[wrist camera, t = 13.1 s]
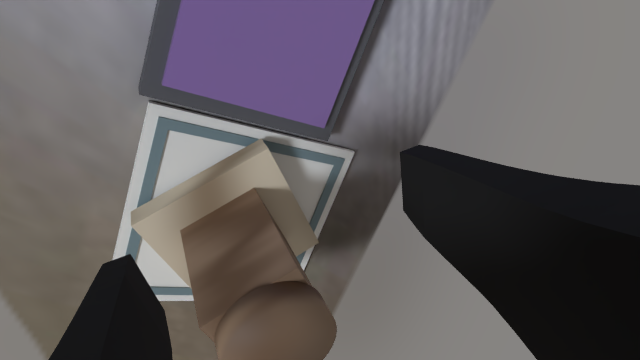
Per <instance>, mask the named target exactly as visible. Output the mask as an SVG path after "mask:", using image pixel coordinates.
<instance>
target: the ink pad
mask: <svg viewBox="0 0 640 360" xmlns="http://www.w3.org/2000/svg"><path fill="white" fill-rule="evenodd" d="M383 2H384V0H157V4H156V9H155V13H154V18H153V22H152V27H151V32H150V36H149V41H148V46H147V50H146V55H145V59H144V64H143V69H142V73H141V78H140V83H139V95H143V96H147V97H151V98H155V99H159V100H163V101H168V102H172V103H176V104H180V105H184V106H188V107H192V108H196V109H200V110H204V111H208V112H212V113H216V114H220V115H224V116H228V117H232V118H236V119H240V120H244V121H248V122H252V123H256V124H260V125H264V126H268V127H272V128H277V129H281V130H285V131H289V132H293V133H297V134H301V135H305V136H309V137H313V138H317V139H321V140H325V141H328V139H329V137H330V134H331V132H332V129H333V127H334V124H335V122H336V119H337V117H338V114H339V112H340V109H341V107H342V104H343V102H344V99H345V97H346V94H347V92H348V89H349V87H350V84H351V82H352V79H353V77H354V74H355V72H356V69H357V67H358V64H359V62H360V59H361V57H362V54H363V52H364V49H365V47H366V44H367V42H368V39H369V37H370V34H371V32H372V29H373V27H374V24H375V22H376V19H377V17H378V15H379V12H380V10H381V7H382V5H383Z"/></svg>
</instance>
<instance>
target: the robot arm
mask: <svg viewBox="0 0 640 360" xmlns="http://www.w3.org/2000/svg"><path fill="white" fill-rule="evenodd" d="M400 159H401V177H402V194H403V210H404V212H405V213H406V214H407V216H408V217H409V219H410V220H411V221H412V222H413V224H414V225H415V226H416V228H417V229H418V230H419V232H420V233H421V234H422V235H423V237H424V238H425V239H426V240H427V241H428V242H429V243H430V244H431V245H432V246H433V247H434V248H435V249H436V250H437V251H438V252H439V253H440V254H441V255H442V256H443V257H444V258H445V259H446V260H447V261H448V262H450V263H451V264H452V265H453V266H454V267H455V268H456V269H457V270H458V271H459V272H460V273H461V274H462V275H463V276H464V277H465V278H466V279H467V280H468V281H469V282H470V283H471V284H472V285H473V286H474V287H475V288H476V289H477V290H478V291H479V292H481V294H482V295H483V296H484V297H485V298H486V299H487V300H488V301H489V302H490V303H491V304H492V305H493V306H494V308H495V309H496V310H497V311H498V312H499V314H500V315H501V316H502V317H503V318H504V320H505V321H506V322H507V323H508V324H509V325H510V327H511V328H512V329H513V330H514V331H515V333H516V334H517V335H518V336H519V337H520V339H521V340H522V341H523V343H524V344H525V345H526V346H527V348H528V349H529V350H530V351H531V353H532V354H533V355H534V356H535V358H536V359H537V360H640V186H639V185H627V184H614V183H605V182H595V181H588V180H581V179H574V178H567V177H560V176H554V175H548V174H543V173H538V172H533V171H528V170H523V169H518V168H514V167H509V166H505V165H501V164H497V163H492V162H488V161H484V160H480V159H477V158H473V157H469V156H465V155H461V154H457V153H453V152H449V151H445V150H441V149H437V148H433V147H428V146H422V145H418V146H415V147H412V148H410V149H407V150H404V151H402V152H400ZM49 360H172V348H171V342H170V336H169V331H168V326H167V321H166V316H165V311H164V309H163V307H162V306H161V304H160V302H159V301H158V299H157V297H156V296H155V294H154V292H153V291H152V289H151V287H150V286H149V284H148V282H147V281H146V279H145V277H144V276H143V274H142V272H141V271H140V269H139V267H138V265H137V264H136V262H135V260H134V259H133V257H132V255H131V254H128V255H125V256H123V257H120V258H118V259H115V260H112V261H110V262H107V263H104V264H103V265H102V266H101V268H100V270H99V272H98V274H97V275H96V277H95V279H94V281H93V283H92V284H91V286H90V288H89V290H88V292H87V294H86V295H85V297H84V299H83V301H82V303H81V305H80V306H79V308H78V310H77V312H76V314H75V316H74V317H73V319H72V321H71V323H70V324H69V326H68V328H67V330H66V331H65V333H64V335H63V337H62V338H61V340H60V342H59V344H58V345H57V347H56V349H55V350H54V352H53V353H52V355H51V357H50V358H49Z"/></svg>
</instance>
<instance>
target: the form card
mask: <svg viewBox="0 0 640 360" xmlns="http://www.w3.org/2000/svg"><path fill="white" fill-rule="evenodd" d="M259 139H262V140H263V142H264V143H265V144H266V146H267V147H268V149H269V150H270V152H271V154H272V156H273V158H274V160H275V162H276V163H277V165H278V167H279V169H280V171H281V173H282V175H283V176H284V178H285V180H286V182H287V184H288V186H289V187H290V189H291V191H292V193H293V195H294V197H295V199H296V200H297V202H298V204H299V206H300V208H301V210H302V212H303V213H304V215H305V217H306V219H307V221H308V223H309V224H310V226H311V228H312V230H313V232H314V234H315V236H316V237H317V239H318V237H319V234H320V232H321V230H322V227H323V225H324V223H325V220H326V218H327V216H328V213H329V211H330V209H331V206H332V204H333V202H334V200H335V197H336V195H337V193H338V190H339V188H340V186H341V183H342V181H343V179H344V176H345V174H346V172H347V169H348V167H349V165H350V162H351V160H352V158H353V155H354V153H355V152H354V151H353V150H350V149H346V148H342V147H338V146H333V145H329V144H325V143H321V142H317V141H313V140H309V139H305V138H301V137H296V136H292V135H288V134H284V133H280V132H276V131H272V130H268V129H264V128H259V127H255V126H251V125H247V124H243V123H239V122H235V121H231V120H227V119H222V118H218V117H214V116H210V115H206V114H202V113H198V112H194V111H190V110H185V109H181V108H177V107H173V106H169V105H165V104H161V103H157V102H153V101H148V106H147V110H146V115H145V119H144V123H143V128H142V132H141V137H140V141H139V145H138V150H137V154H136V159H135V163H134V167H133V172H132V176H131V180H130V185H129V189H128V194H127V198H126V202H125V207H124V211H123V216H122V220H121V224H120V229H119V233H118V238H117V242H116V246H115V251H114V255H113V259H112V260H115V259H118V258H120V257H123V256H125V255H128V254H131V255H132V257H133V259H134V260H135V262H136V264H137V265H138V267H139V269H140V271H141V272H142V274H143V276H144V277H145V279H146V281H147V282H148V284H149V286H150V287H151V289H152V291H153V292H154V294H155V296H156V297H157V299H158V301H194V299H193V293H192V289H191V288H190V287H189V286H188V285H187V284H186V283H185V282H184V281H183V280H182V279H181V278H180V277H179V276H178V274H177V273H176V272H175V271H174V270H173V269H172V268H171V267H170V266H169V265H168V264H167V263H166V262H165V261H164V260H163V259H162V258H161V257H160V256H159V255H158V254H157V253H156V252H155V251H154V249H153V248H152V247H151V246H150V245H149V244H148V243H147V242H146V241H145V240H144V239H143V238H142V237H141V236H140V235H139V234H138V233H137V232H136V231H135V230H134V229H133V228H132V227H131V211H133V210H134V209H136V208H138V207H140V206H142V205H143V204H145V203H147V202H149V201H150V200H152V199H154V198H156V197H158V196H159V195H161V194H163V193H165V192H166V191H168V190H170V189H172V188H174V187H175V186H177V185H179V184H181V183H183V182H184V181H186V180H188V179H190V178H191V177H193V176H195V175H197V174H199V173H200V172H202V171H204V170H206V169H207V168H209V167H211V166H213V165H215V164H216V163H218V162H220V161H222V160H223V159H225V158H227V157H229V156H231V155H232V154H234V153H236V152H238V151H239V150H241V149H243V148H245V147H247V146H248V145H250V144H252V143H254V142H255V141H257V140H259ZM314 246H315V245H314ZM314 246H313V247H311V248H309V249H308V250H306V251H305V252H303V253H301V254H300V255H298V256H296V258H297V260H298V261H299V263H300V265H301V267H302V269H303V271H304V269H305V267H306V265H307V262H308V260H309V258H310V255H311V253H312V251H313V248H314Z"/></svg>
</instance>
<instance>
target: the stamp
mask: <svg viewBox="0 0 640 360" xmlns="http://www.w3.org/2000/svg"><path fill="white" fill-rule="evenodd" d="M131 227H132V228H133V229H134V230H135V231H136V232H137V233H138V234H139V235H140V236H141V237H142V238H143V239H144V240H145V241H146V242H147V243H148V244H149V245H150V246H151V247H152V248H153V249H154V251H155V252H156V253H157V254H158V255H159V256H160V257H161V258H162V259H163V260H164V261H165V262H166V263H167V264H168V265H169V266H170V267H171V268H172V269H173V270H174V271H175V272H176V273H177V274H178V276H179V277H180V278H181V279H182V280H183V281H184V282H185V283H186V284H187V285H188V286H189V287H190V288H191V289H192V293H193V299H194V304H195V309H196V314H197V319H198V324H199V328H200V329H201V330H202V331H203V332H204V333H205V334H206V335H207V336H208V337H209V338H210V339H211V340H212V341H213V342H215V347H216V351H217V355H218V360H323V359H324V358H325V357H326V355H327V354H328V353H329V351H330V349H331V347H332V345H333V343H334V341H335V338H336V332H337V327H336V322H335V320H334V318H333V316H332V314H331V312H330V310H329V309H328V307H327V305H326V303H325V302H324V300H323V298H322V296H321V294H320V293H319V292H318V291H317V290H316V289H315V288H314V287H312V285H311V283H310V281H309V280H308V278H307V276H306V274H305V272H304V271H303V269H302V267H301V265H300V263H299V261H298V260H297V258H296V256H298V255H300V254H301V253H303V252H305V251H306V250H308V249H309V248H311V247H313V246H314V245H316V244H318V243H319V241H318V239H317V237H316V236H315V234H314V232H313V230H312V228H311V226H310V224H309V223H308V221H307V219H306V217H305V215H304V213H303V212H302V210H301V208H300V206H299V204H298V202H297V200H296V199H295V197H294V195H293V193H292V191H291V189H290V187H289V186H288V184H287V182H286V180H285V178H284V176H283V175H282V173H281V171H280V169H279V167H278V165H277V163H276V162H275V160H274V158H273V156H272V154H271V152H270V150H269V149H268V147H267V146H266V144H265V143H264V142H263V140H262V139H259V140H257V141H255V142H254V143H252V144H250V145H248V146H247V147H245V148H243V149H241V150H239V151H238V152H236V153H234V154H232V155H231V156H229V157H227V158H225V159H223V160H222V161H220V162H218V163H216V164H215V165H213V166H211V167H209V168H207V169H206V170H204V171H202V172H200V173H199V174H197V175H195V176H193V177H191V178H190V179H188V180H186V181H184V182H183V183H181V184H179V185H177V186H175V187H174V188H172V189H170V190H168V191H166V192H165V193H163V194H161V195H159V196H158V197H156V198H154V199H152V200H150V201H149V202H147V203H145V204H143V205H142V206H140V207H138V208H136V209H134V210H133V211H131Z"/></svg>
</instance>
